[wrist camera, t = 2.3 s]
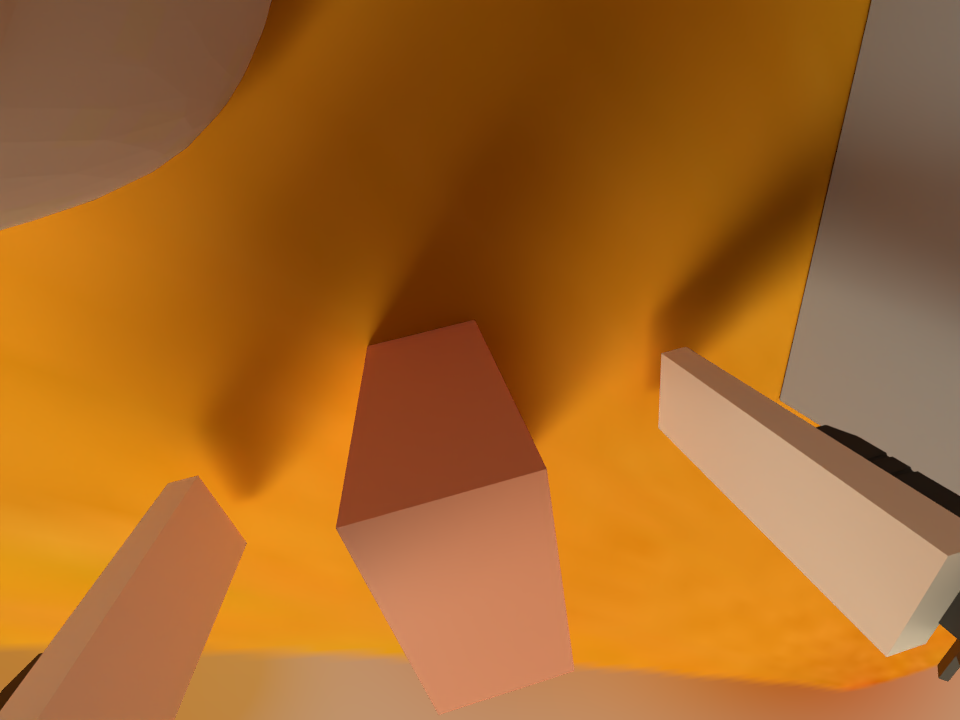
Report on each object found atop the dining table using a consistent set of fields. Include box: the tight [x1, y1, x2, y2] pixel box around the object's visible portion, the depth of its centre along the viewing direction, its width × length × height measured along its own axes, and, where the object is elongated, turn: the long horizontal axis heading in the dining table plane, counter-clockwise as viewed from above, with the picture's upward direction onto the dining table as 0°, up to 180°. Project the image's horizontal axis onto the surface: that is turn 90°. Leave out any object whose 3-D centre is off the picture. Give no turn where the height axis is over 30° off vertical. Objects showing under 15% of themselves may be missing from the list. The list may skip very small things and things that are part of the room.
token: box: [336, 320, 574, 715], centre depth 9 cm, size 6×3×6 cm, turn 11°
